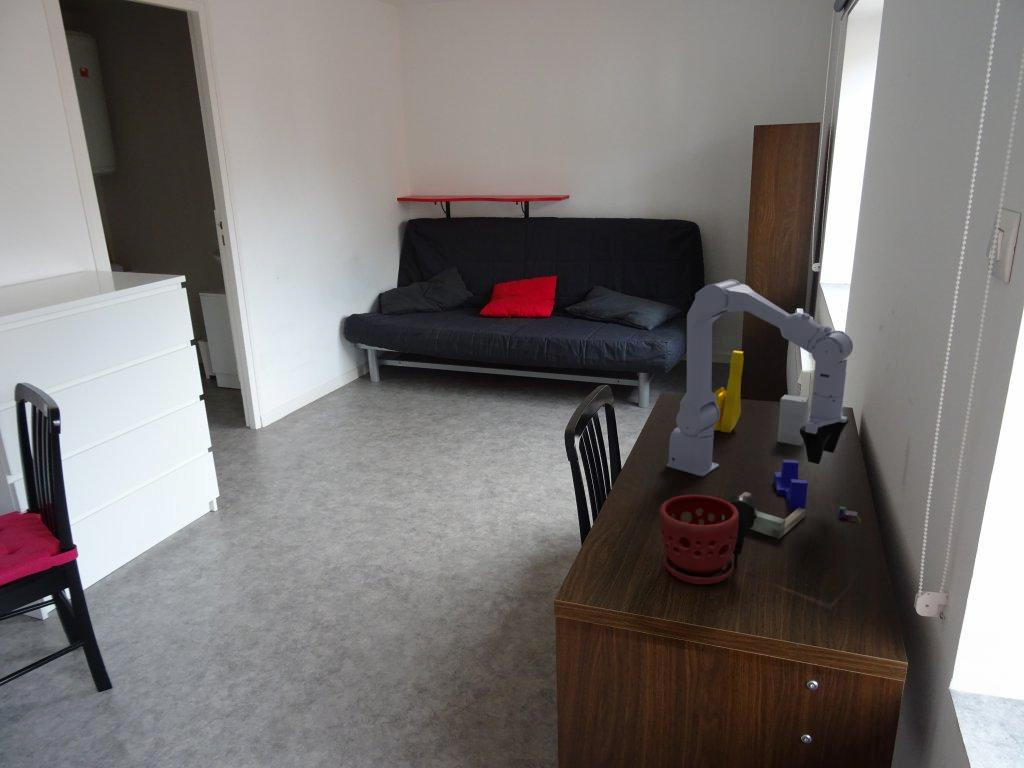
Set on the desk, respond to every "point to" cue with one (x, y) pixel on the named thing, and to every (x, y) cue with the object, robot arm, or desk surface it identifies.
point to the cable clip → (791, 484)
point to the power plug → (742, 521)
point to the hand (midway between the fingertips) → (821, 456)
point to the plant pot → (699, 538)
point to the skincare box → (792, 419)
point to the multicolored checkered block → (848, 515)
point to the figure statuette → (730, 395)
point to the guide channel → (774, 521)
